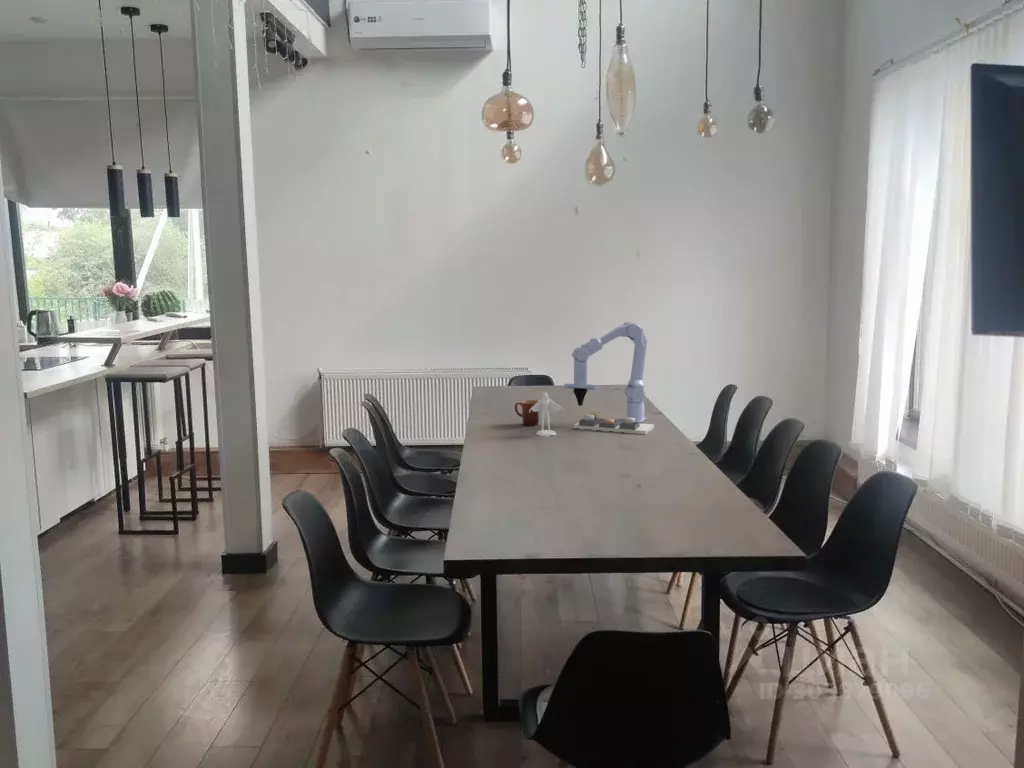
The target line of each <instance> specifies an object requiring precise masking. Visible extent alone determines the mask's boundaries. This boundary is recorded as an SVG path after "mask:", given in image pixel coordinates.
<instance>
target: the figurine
mask: <svg viewBox="0 0 1024 768" xmlns="http://www.w3.org/2000/svg"><path fill="white" fill-rule="evenodd" d="M542 393H543V394H542V397H541V398H540V399H539V400H537V401H538V402H537V403H536V404H535V405H534V406H533V407H532V408H531V409H532V411H534V412H537V411H539V412H541V430H538V431H537V432H536V433H535V435H536V434H537V435H536V436H538V435H540V436H539V437H551V436H550V435H554V436H556V435H557V432H556V431H555V430H552V429H551V425H550V422H551V421H550V418H551V417H550V416H551V413H555V412H558V411H560V410H562V411H565V410H564V408H563V407H561V405H559V404H557V403H555V402H554V401H553V400H552V399H551V398H550V397H549V394H548V393H547V392H544V391H543V392H542ZM531 409H530V410H529V413H530V411H531ZM545 417H546V422H547V428H548V429H544V426H545ZM555 434H556V435H555Z"/></svg>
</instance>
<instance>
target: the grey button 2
mask: <svg viewBox="0 0 1024 768" xmlns="http://www.w3.org/2000/svg"><path fill="white" fill-rule="evenodd" d="M623 421H624V424H630V425H635V418H633V417H627V416H626V417H624V418H623Z"/></svg>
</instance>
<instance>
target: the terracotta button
mask: <svg viewBox="0 0 1024 768" xmlns="http://www.w3.org/2000/svg"><path fill="white" fill-rule="evenodd" d="M603 419H604V423H615V420H616V419H615V418H603Z"/></svg>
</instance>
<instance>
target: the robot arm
mask: <svg viewBox="0 0 1024 768" xmlns="http://www.w3.org/2000/svg"><path fill="white" fill-rule="evenodd" d="M620 337H622V338H623V337H625V338H629V339H630V341H631V342H632V343H633V344H634V348H633V356H632V363H631V364H632V365H631V372H630V379H629V380H628V383H627V386H626V388H625V389H624V393H625V396H626V397H627V398H626V417H633V418H635V422H640V424H642V423H643V422H644V421H645V420H647V417H645V410H646V409H645V403H644V400H645V399H644V398H645V396H646V393H645V392H646V391H645V389H644V387H645V385H644V381H643V377H644V369H645V362H646V354H647V353H646V352H647V345H648V340H647V336H646V335H645V333H644V328H642V326H641V325H639V324H638V323H636V322H635V323H634V322H631V321H625V322H624V323H623V324H620V325H618V326H616V327H615V328H614V329H612V330H609V332H607V333H605V334H604V335H602V336H601V337H600V338H597V337H595V338H594V337H592V338H590V339H589V341H587V342H586V343H582V344H581V345H580V346H577V347H575V348H574V349H573V352H572V353H571V356H572V358H573V383H564V385H563V387H564V388H563V389H569V390H570V389H573V390H572V392H573V394H574V395H575V398H576V401H577V406H579V407H581V406H583V405H584V400H585V397H586V394H587V393H588V391H589V390H592V391H597V389H598V388H597V387H598V386H597V385H598V384H597V385H596V384H588V361H587V360H589V357H591V356H593V355H594V354H596V353H598V352H599V351H601V350H602V349H603V347H604V345H606V344H608V343H609V342H611V341H613V340H615V339H617V338H620Z"/></svg>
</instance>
